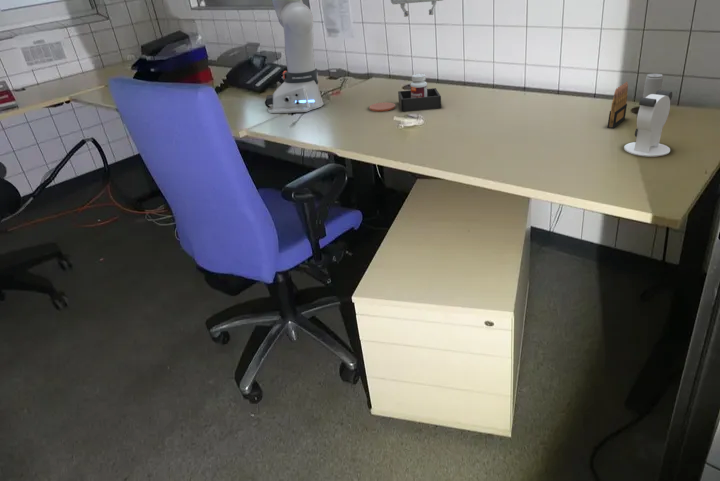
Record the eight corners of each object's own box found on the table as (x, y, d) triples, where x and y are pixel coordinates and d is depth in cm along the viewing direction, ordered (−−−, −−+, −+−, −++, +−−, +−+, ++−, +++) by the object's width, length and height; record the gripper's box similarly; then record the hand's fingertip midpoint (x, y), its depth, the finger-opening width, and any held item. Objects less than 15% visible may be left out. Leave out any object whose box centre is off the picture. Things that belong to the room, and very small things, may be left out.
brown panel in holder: (618, 118, 176) (624, 80, 170) (624, 119, 175) (630, 81, 169) (607, 127, 169) (612, 88, 163) (613, 128, 168) (619, 89, 162)
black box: (401, 111, 203) (401, 99, 201) (398, 102, 214) (398, 91, 212) (441, 108, 203) (440, 96, 200) (435, 99, 214) (435, 88, 212)
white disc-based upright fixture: (636, 139, 158) (645, 87, 151) (678, 147, 150) (689, 92, 143) (616, 150, 152) (624, 96, 144) (658, 159, 144) (669, 102, 137)
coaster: (370, 112, 205) (369, 110, 205) (368, 105, 214) (368, 103, 213) (396, 110, 205) (396, 108, 204) (394, 103, 214) (394, 101, 213)
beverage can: (641, 114, 177) (648, 77, 172) (638, 110, 181) (645, 73, 176) (658, 114, 176) (665, 76, 170) (654, 110, 180) (661, 73, 175)
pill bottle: (409, 107, 207) (408, 77, 201) (413, 103, 212) (412, 73, 206) (425, 107, 205) (424, 77, 199) (429, 103, 210) (428, 73, 204)
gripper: (386, -22, 198) (389, 18, 205) (443, -28, 192) (444, 14, 199) (391, -24, 204) (393, 16, 210) (446, -29, 197) (447, 12, 204)
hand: (418, 15), depth 205 cm, fingers open, 8 cm apart
